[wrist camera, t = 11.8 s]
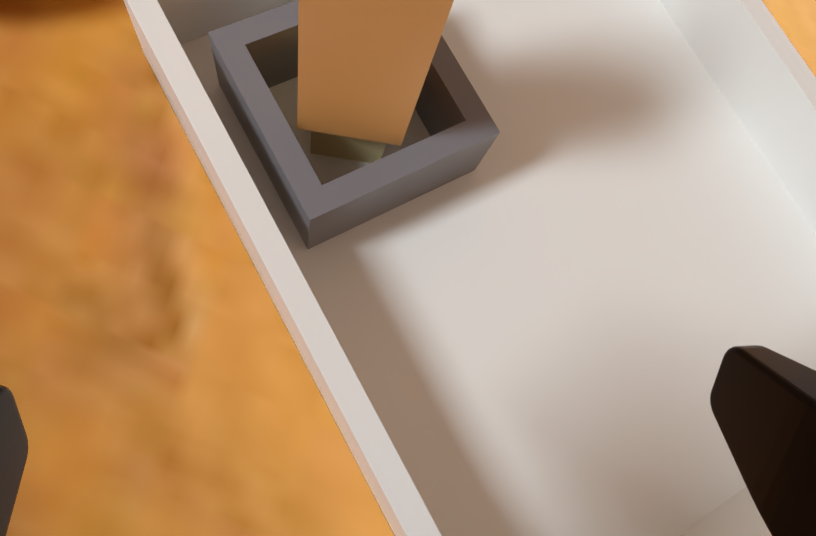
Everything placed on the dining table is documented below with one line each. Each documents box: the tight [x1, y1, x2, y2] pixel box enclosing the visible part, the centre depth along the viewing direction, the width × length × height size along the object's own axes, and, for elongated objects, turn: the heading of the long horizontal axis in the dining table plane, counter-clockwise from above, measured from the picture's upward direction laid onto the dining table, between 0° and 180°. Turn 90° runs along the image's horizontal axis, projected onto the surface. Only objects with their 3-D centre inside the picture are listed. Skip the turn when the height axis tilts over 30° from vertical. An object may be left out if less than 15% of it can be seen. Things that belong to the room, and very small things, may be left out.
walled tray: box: [124, 0, 816, 536], centre depth 22 cm, size 24×20×4 cm
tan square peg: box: [297, 0, 454, 163], centre depth 17 cm, size 3×3×12 cm
